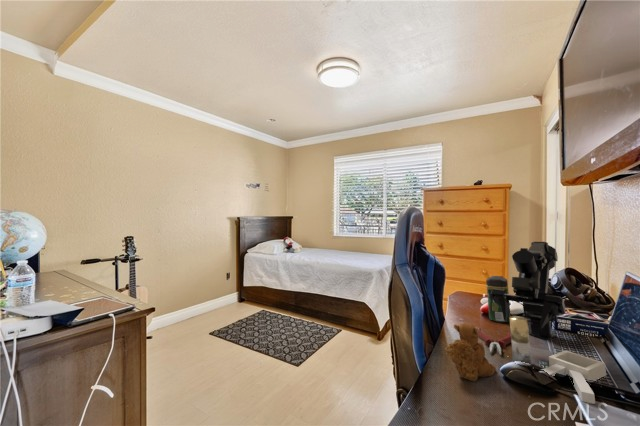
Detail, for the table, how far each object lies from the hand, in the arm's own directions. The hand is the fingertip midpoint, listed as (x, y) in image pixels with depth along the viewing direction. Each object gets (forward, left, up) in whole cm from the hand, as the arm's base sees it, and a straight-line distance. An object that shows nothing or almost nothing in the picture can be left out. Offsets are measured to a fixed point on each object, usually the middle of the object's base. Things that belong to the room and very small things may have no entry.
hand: (522, 323), depth 84 cm
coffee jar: (-27, -26, -11) cm, 39 cm away
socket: (+2, +13, -10) cm, 17 cm away
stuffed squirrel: (+22, -2, -11) cm, 25 cm away
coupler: (+4, +1, -10) cm, 11 cm away
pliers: (-2, -13, -11) cm, 17 cm away
